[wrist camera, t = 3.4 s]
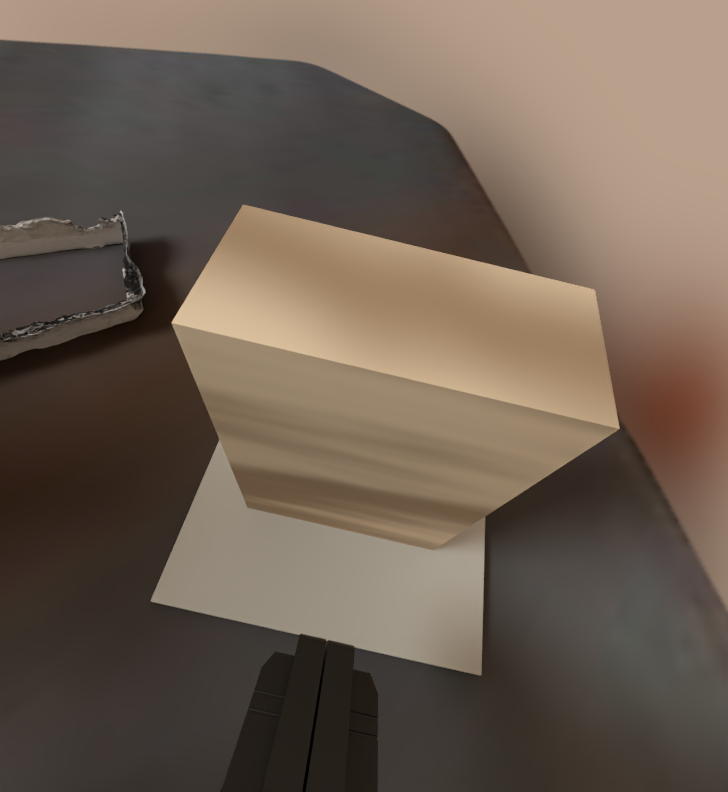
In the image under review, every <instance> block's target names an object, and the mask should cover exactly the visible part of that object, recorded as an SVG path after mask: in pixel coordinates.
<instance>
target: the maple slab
mask: <svg viewBox="0 0 728 792" xmlns="http://www.w3.org/2000/svg"><path fill="white" fill-rule="evenodd" d="M172 326H173V328H174V330H175V333H176V335H177V338H178V340H179V343H180V345H181V347H182V350H183V352H184V355H185V357H186V360H187V362H188V364H189V367H190V369H191V372H192V374H193V377H194V379H195V381H196V384H197V386H198V389H199V391H200V394H201V396H202V398H203V401H204V403H205V406H206V408H207V411H208V413H209V415H210V418H211V420H212V423H213V425H214V428H215V430H216V432H217V435H218V437H219V440H220V442H221V445H222V447H223V449H224V452H225V454H226V457H227V459H228V462H229V464H230V466H231V469H232V471H233V474H234V476H235V479H236V481H237V483H238V486H239V488H240V491H241V493H242V496H243V498H244V500H245V503H246V505H247V508H251V509H255V510H259V511H264V512H268V513H272V514H277V515H281V516H286V517H290V518H294V519H299V520H303V521H307V522H312V523H316V524H320V525H325V526H329V527H333V528H338V529H342V530H347V531H351V532H355V533H360V534H364V535H368V536H373V537H377V538H381V539H386V540H390V541H394V542H399V543H403V544H408V545H412V546H416V547H421V548H425V549H429V550H435V549H436V548H438V547H439V546H441V545H442V544H444V543H445V542H447V541H448V540H450V539H451V538H453V537H454V536H456V535H458V534H459V533H461V532H462V531H464V530H465V529H467V528H468V527H470V526H471V525H473V524H474V523H476V522H477V521H479V520H481V519H482V518H484V517H485V516H487V515H488V514H490V513H491V512H493V511H494V510H496V509H497V508H499V507H500V506H502V505H504V504H505V503H507V502H508V501H510V500H511V499H513V498H514V497H516V496H517V495H519V494H520V493H522V492H523V491H525V490H527V489H528V488H530V487H531V486H533V485H534V484H536V483H537V482H539V481H540V480H542V479H543V478H545V477H546V476H548V475H550V474H551V473H553V472H554V471H556V470H557V469H559V468H560V467H562V466H563V465H565V464H566V463H568V462H570V461H571V460H573V459H574V458H576V457H577V456H579V455H580V454H582V453H583V452H585V451H586V450H588V449H589V448H591V447H593V446H594V445H596V444H597V443H599V442H600V441H602V440H603V439H605V438H606V437H608V436H609V435H611V434H612V433H614V432H616V431H617V430H619V429H620V428H619V423H618V417H617V412H616V406H615V401H614V395H613V390H612V384H611V378H610V373H609V367H608V361H607V356H606V350H605V345H604V339H603V333H602V328H601V322H600V316H599V311H598V305H597V300H596V294H595V290H593V289H590V288H586V287H581V286H577V285H573V284H569V283H564V282H561V281H556V280H552V279H548V278H544V277H540V276H536V275H532V274H528V273H524V272H519V271H515V270H511V269H507V268H503V267H499V266H495V265H491V264H486V263H482V262H478V261H474V260H470V259H466V258H462V257H457V256H453V255H449V254H445V253H441V252H437V251H433V250H429V249H424V248H420V247H416V246H412V245H408V244H404V243H400V242H396V241H391V240H387V239H383V238H379V237H375V236H371V235H367V234H363V233H358V232H354V231H350V230H346V229H342V228H338V227H334V226H329V225H325V224H321V223H317V222H313V221H309V220H305V219H301V218H296V217H292V216H288V215H284V214H280V213H276V212H272V211H268V210H263V209H259V208H255V207H251V206H247V205H243V206H242V207H241V209H240V211H239V212H238V214H237V216H236V217H235V219H234V221H233V222H232V224H231V226H230V227H229V229H228V230H227V232H226V234H225V235H224V237H223V239H222V240H221V242H220V244H219V245H218V247H217V249H216V250H215V252H214V254H213V255H212V257H211V258H210V260H209V262H208V263H207V265H206V267H205V268H204V270H203V272H202V273H201V275H200V277H199V278H198V280H197V282H196V283H195V285H194V286H193V288H192V290H191V291H190V293H189V295H188V296H187V298H186V300H185V301H184V303H183V305H182V306H181V308H180V310H179V311H178V313H177V314H176V316H175V318H174V319H173V321H172Z"/></svg>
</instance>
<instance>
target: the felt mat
mask: <svg viewBox="0 0 728 792" xmlns="http://www.w3.org/2000/svg"><path fill="white" fill-rule="evenodd" d="M484 550H485V517H484V518H482V519H481V520H479V521H477V522H476V523H474V524H473V525H471V526H470V527H468V528H467V529H465V530H464V531H462V532H461V533H459V534H458V535H456V536H454V537H453V538H451V539H450V540H448V541H447V542H445V543H444V544H442V545H441V546H439V547H438V548H436V549H435V550H429V549H425V548H421V547H416V546H412V545H408V544H403V543H399V542H394V541H390V540H386V539H381V538H377V537H373V536H368V535H364V534H360V533H355V532H351V531H347V530H342V529H338V528H333V527H329V526H325V525H320V524H316V523H312V522H307V521H303V520H299V519H294V518H290V517H286V516H281V515H277V514H272V513H268V512H264V511H259V510H255V509H251V508H247V505H246V503H245V500H244V498H243V496H242V493H241V491H240V488H239V486H238V483H237V481H236V479H235V476H234V474H233V471H232V469H231V466H230V464H229V462H228V459H227V457H226V454H225V452H224V449H223V447H222V445H221V442H220V440H219V442H218V444H217V447H216V449H215V451H214V454H213V456H212V458H211V461H210V463H209V465H208V468H207V470H206V472H205V475H204V477H203V479H202V482H201V484H200V486H199V489H198V491H197V493H196V496H195V498H194V500H193V503H192V505H191V507H190V510H189V512H188V514H187V517H186V519H185V521H184V524H183V526H182V528H181V531H180V533H179V535H178V538H177V540H176V542H175V545H174V547H173V549H172V552H171V554H170V556H169V559H168V561H167V563H166V566H165V568H164V571H163V573H162V575H161V578H160V580H159V582H158V585H157V587H156V589H155V592H154V594H153V596H152V599H151V601H150V602H155V603H159V604H164V605H168V606H173V607H177V608H181V609H186V610H190V611H195V612H199V613H204V614H208V615H213V616H217V617H222V618H226V619H230V620H235V621H239V622H244V623H248V624H253V625H257V626H262V627H266V628H271V629H275V630H279V631H284V632H288V633H293V634H297V635H300V633H301V634H305V635H310V636H314V637H319V638H323V639H326V641H328V640H331V641H335V642H340V643H344V644H349V645H353V646H354V647H355V648H360V649H364V650H368V651H373V652H377V653H382V654H386V655H391V656H395V657H400V658H404V659H409V660H413V661H417V662H422V663H426V664H431V665H435V666H440V667H444V668H449V669H453V670H458V671H462V672H466V673H471V674H475V675H480V676H481V674H482V633H483V591H484Z"/></svg>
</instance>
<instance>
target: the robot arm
mask: <svg viewBox="0 0 728 792" xmlns="http://www.w3.org/2000/svg"><path fill="white" fill-rule="evenodd" d="M325 645H326V639H323V638H319V637H314V636H310V635H305V634H301V633H300V637H299V641H298V645H297V649H296V653H295V656H292V655H288V654H283V653H279V652H275V653H274V654H273V655H272V656H271V657H270V659H269V660H268V661H267V662H266V663H265V664H264V666H263V667H262V668H261V671H260V674H259V677H258V680H257V684H256V687H255V690H254V693H253V696H252V699H251V702H250V705H249V708H248V711H247V714H246V717H245V720H244V723H243V726H242V729H241V733H240V736H239V739H238V742H237V745H236V748H235V751H234V754H233V757H232V760H231V763H230V766H229V769H228V772H227V775H226V779H225V782H224V784H223V787H222V789H221V791H220V792H377V765H378V741H377V736H378V721H377V717H378V693H377V691H376V688H375V685H374V683H373V680H372V677H371V675H370V673H366V672H362V671H357V670H353V664H354V646H353V645H349V644H344V643H340V642H335V641H331V640H328V642H327V645H326V649H325ZM324 651H325V653H324Z"/></svg>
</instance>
